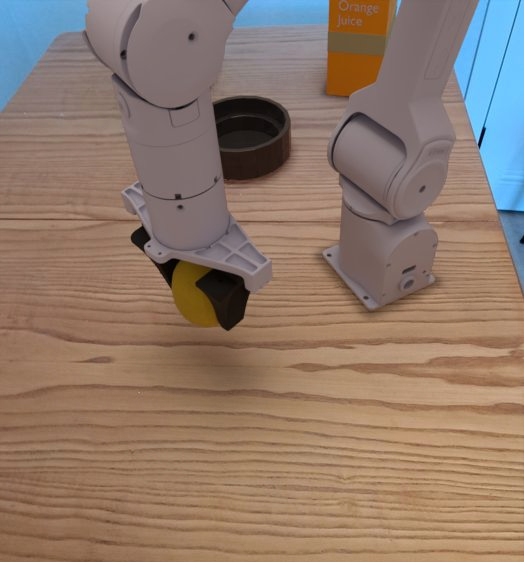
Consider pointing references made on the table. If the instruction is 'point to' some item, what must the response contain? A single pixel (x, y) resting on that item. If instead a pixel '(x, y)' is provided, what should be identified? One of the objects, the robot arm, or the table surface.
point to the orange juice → (357, 42)
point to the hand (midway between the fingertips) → (208, 305)
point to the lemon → (192, 294)
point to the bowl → (251, 136)
